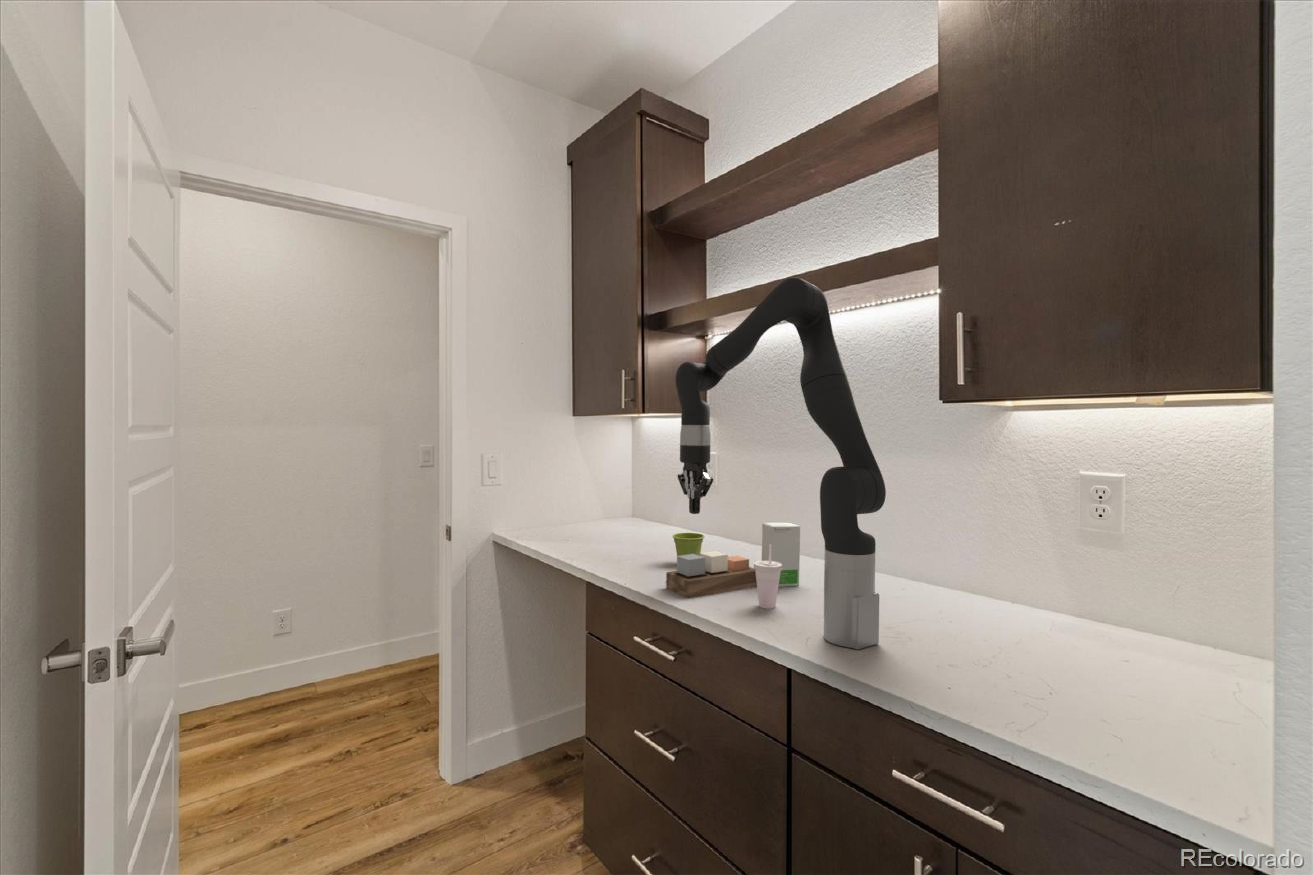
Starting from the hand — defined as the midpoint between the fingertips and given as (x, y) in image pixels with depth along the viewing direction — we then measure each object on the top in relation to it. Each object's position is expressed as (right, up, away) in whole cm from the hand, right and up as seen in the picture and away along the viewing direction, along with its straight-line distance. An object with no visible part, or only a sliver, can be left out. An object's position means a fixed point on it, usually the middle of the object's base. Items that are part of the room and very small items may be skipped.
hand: (694, 513), depth 147 cm
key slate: (-1, -15, 0) cm, 15 cm away
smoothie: (+16, -20, -12) cm, 28 cm away
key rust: (+11, -17, +7) cm, 21 cm away
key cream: (+5, -15, +3) cm, 16 cm away
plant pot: (0, -19, +27) cm, 33 cm away
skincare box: (+23, -19, +7) cm, 31 cm away
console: (+5, -19, +3) cm, 20 cm away
